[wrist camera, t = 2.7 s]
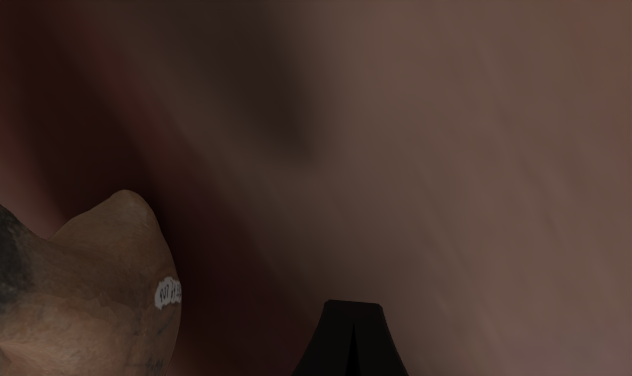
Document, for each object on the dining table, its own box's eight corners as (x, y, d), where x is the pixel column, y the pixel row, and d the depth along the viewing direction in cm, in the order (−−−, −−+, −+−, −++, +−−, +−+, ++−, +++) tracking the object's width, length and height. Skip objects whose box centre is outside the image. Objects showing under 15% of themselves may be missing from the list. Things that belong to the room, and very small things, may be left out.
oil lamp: (47, 93, 15) (-227, 249, 8) (183, 96, 15) (20, 262, 8) (104, 329, 19) (-46, 568, 12) (211, 336, 19) (121, 584, 12)
